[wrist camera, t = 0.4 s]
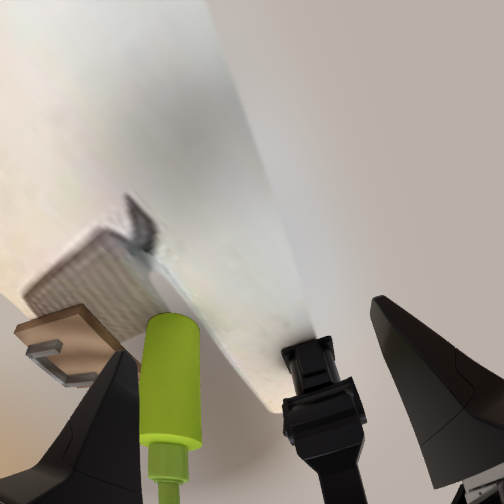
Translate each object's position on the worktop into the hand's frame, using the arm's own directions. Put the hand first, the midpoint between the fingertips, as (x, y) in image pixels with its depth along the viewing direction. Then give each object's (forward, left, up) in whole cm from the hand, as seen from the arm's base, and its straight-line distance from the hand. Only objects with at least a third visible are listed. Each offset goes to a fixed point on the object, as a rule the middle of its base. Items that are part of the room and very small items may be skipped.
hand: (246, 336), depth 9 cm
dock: (-14, +26, -14) cm, 33 cm away
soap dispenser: (-14, +12, -14) cm, 24 cm away
